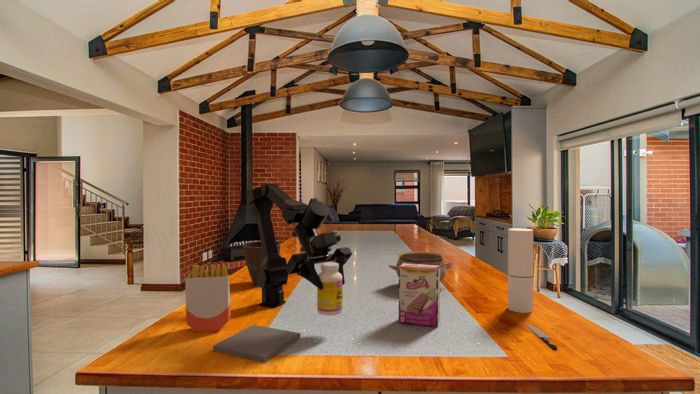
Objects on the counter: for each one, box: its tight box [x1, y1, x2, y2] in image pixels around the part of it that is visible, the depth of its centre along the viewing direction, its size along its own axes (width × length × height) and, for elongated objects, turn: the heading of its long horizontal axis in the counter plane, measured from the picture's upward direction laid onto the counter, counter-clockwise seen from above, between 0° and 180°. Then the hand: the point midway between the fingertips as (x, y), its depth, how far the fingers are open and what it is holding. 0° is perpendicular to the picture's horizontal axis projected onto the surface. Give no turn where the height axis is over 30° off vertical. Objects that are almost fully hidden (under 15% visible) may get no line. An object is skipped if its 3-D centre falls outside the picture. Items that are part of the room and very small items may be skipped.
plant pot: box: [242, 241, 282, 286], centre depth 154 cm, size 15×15×16 cm
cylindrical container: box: [507, 227, 534, 314], centre depth 119 cm, size 7×7×25 cm
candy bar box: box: [398, 263, 441, 328], centre depth 108 cm, size 11×5×16 cm, turn 71°
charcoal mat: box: [212, 324, 301, 363], centre depth 95 cm, size 15×15×1 cm
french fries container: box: [184, 264, 232, 333], centre depth 105 cm, size 5×11×18 cm, turn 99°
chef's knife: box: [523, 322, 558, 351], centre depth 100 cm, size 19×1×3 cm
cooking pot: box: [388, 250, 453, 282], centre depth 147 cm, size 25×19×12 cm
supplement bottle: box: [316, 262, 343, 316], centre depth 101 cm, size 7×7×13 cm
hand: (333, 286), depth 100 cm, fingers closed on supplement bottle, 7 cm apart
